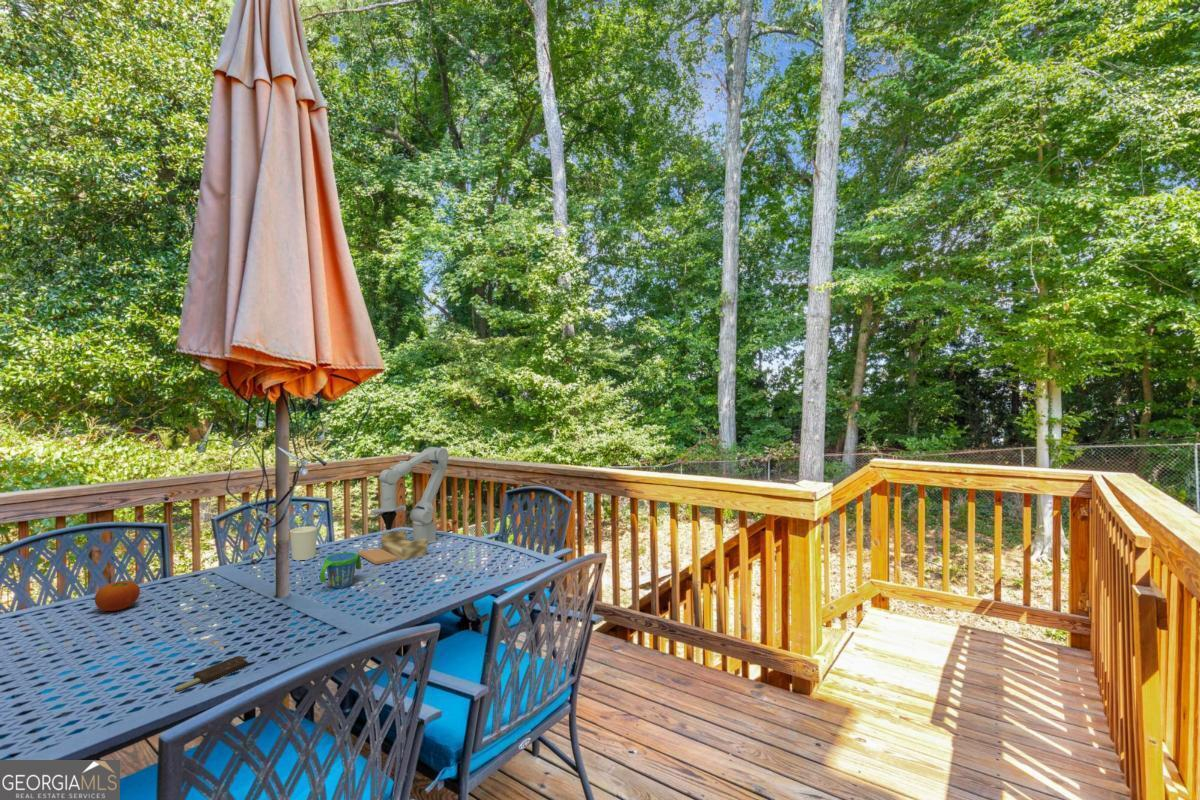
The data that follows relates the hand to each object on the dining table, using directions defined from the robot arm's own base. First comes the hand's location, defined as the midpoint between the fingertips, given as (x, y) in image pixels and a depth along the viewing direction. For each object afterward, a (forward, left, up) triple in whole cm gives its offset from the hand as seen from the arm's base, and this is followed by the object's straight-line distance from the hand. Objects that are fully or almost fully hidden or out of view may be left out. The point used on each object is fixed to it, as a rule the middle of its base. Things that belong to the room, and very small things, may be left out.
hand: (388, 529), depth 226 cm
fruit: (+86, +1, -10) cm, 87 cm away
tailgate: (+3, +7, -9) cm, 12 cm away
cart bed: (-4, +7, -9) cm, 12 cm away
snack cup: (+29, +28, -10) cm, 41 cm away
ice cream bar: (+73, +69, -10) cm, 101 cm away
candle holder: (+29, -14, -10) cm, 34 cm away
